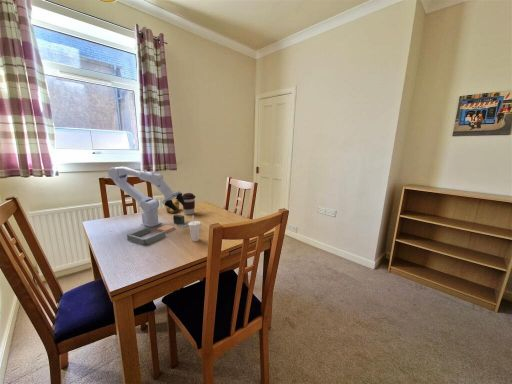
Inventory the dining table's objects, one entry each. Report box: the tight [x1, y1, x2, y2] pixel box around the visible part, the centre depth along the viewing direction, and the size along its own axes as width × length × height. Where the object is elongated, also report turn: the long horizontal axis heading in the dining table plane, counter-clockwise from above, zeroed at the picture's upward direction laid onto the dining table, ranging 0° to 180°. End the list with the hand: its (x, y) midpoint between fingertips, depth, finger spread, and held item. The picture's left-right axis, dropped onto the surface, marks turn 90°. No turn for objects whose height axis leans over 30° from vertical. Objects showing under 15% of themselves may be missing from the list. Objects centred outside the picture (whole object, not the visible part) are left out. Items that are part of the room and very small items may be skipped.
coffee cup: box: [182, 192, 196, 216], centre depth 159 cm, size 10×10×15 cm
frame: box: [126, 226, 167, 246], centre depth 117 cm, size 14×13×3 cm
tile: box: [156, 224, 176, 234], centre depth 129 cm, size 7×7×2 cm
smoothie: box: [187, 214, 201, 242], centre depth 115 cm, size 6×6×14 cm
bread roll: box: [165, 199, 181, 214], centre depth 164 cm, size 13×10×8 cm
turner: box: [172, 213, 191, 229], centre depth 138 cm, size 11×8×6 cm
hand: (180, 207), depth 133 cm, fingers open, 7 cm apart
